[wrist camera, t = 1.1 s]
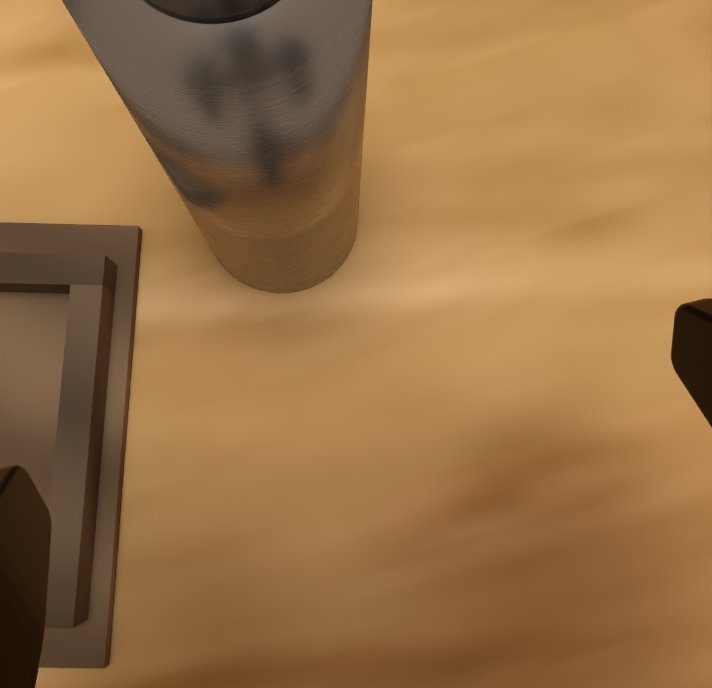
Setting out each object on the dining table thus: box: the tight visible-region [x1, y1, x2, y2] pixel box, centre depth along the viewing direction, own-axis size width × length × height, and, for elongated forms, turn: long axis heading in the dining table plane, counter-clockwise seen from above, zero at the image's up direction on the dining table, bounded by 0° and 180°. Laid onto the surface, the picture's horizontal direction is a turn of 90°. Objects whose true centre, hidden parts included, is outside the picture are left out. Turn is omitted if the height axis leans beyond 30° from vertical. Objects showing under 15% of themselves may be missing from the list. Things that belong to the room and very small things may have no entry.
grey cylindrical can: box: [62, 0, 372, 293], centre depth 17 cm, size 5×5×13 cm
